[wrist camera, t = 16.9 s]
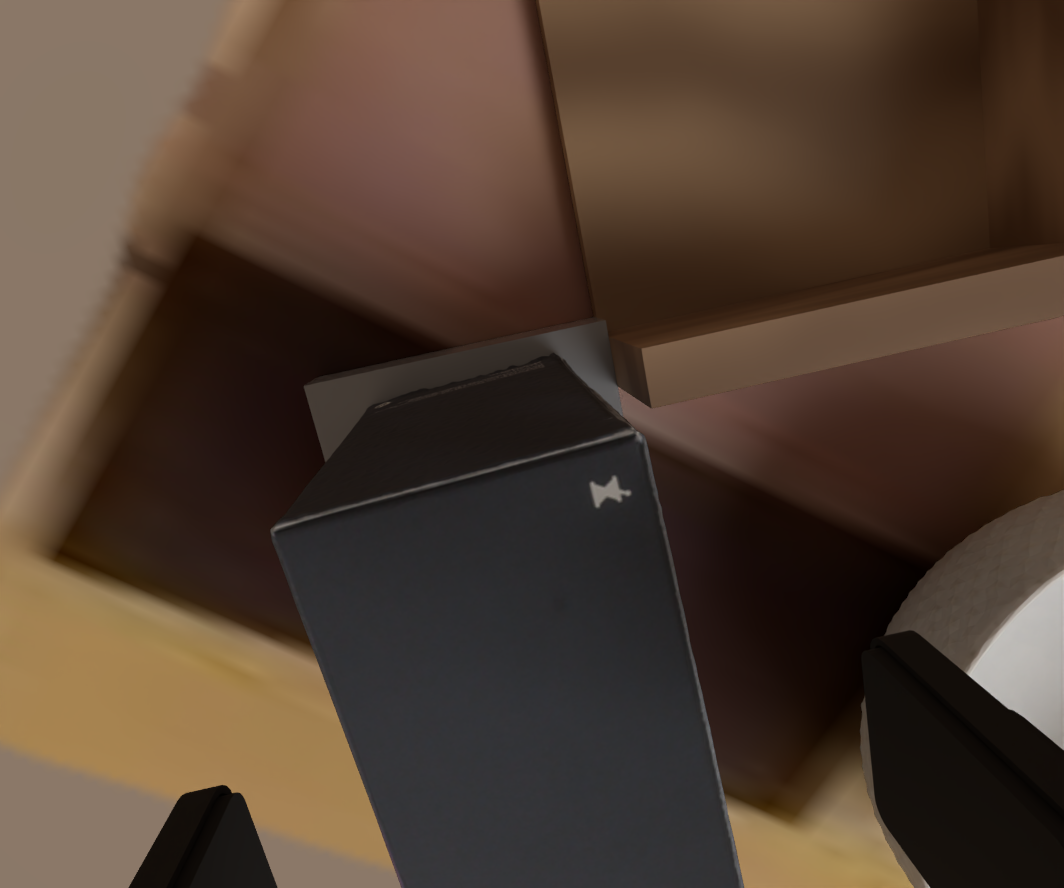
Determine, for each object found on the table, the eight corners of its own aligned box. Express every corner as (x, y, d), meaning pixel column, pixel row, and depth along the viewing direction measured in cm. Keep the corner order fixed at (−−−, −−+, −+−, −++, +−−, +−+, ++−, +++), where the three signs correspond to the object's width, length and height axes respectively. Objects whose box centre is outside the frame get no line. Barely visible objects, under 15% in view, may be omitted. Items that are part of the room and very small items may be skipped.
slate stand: (317, 377, 22) (303, 385, 20) (593, 317, 23) (605, 320, 21) (409, 705, 25) (405, 740, 23) (654, 646, 26) (669, 676, 24)
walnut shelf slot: (500, -187, 20) (516, -387, 14) (997, -279, 20) (1214, -508, 14) (604, 377, 23) (651, 408, 17) (1021, 284, 24) (1201, 285, 18)
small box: (349, 405, 21) (237, 522, 11) (563, 347, 21) (658, 407, 11) (448, 713, 23) (437, 1048, 13) (639, 658, 23) (775, 946, 13)
